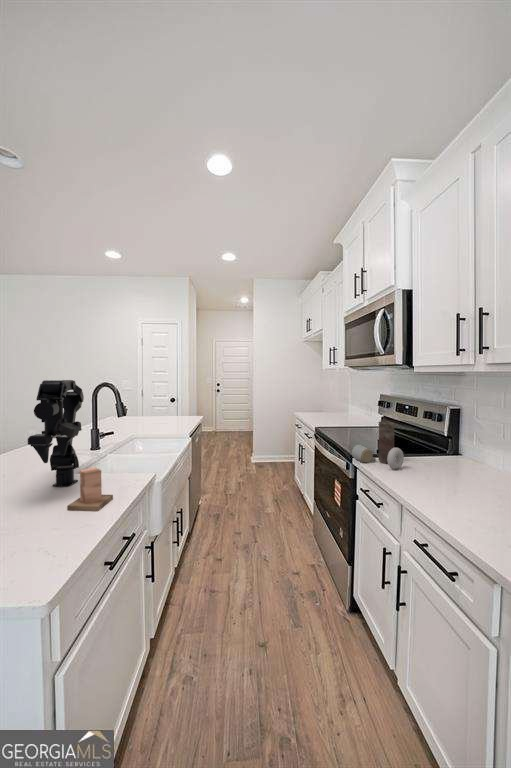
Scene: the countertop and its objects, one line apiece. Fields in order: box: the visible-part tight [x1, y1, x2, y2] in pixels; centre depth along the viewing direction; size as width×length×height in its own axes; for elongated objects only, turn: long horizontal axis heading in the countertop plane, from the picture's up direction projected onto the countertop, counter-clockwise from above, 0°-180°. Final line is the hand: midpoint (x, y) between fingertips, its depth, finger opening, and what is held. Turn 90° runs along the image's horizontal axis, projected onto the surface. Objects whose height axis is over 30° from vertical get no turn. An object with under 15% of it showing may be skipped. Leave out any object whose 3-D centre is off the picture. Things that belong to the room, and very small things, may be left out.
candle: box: [378, 421, 395, 464], centre depth 163 cm, size 8×7×20 cm
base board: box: [66, 494, 114, 512], centre depth 110 cm, size 10×10×2 cm
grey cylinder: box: [351, 444, 377, 464], centre depth 165 cm, size 11×8×8 cm
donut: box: [387, 446, 405, 470], centre depth 151 cm, size 10×4×10 cm, turn 124°
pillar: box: [79, 466, 103, 504], centre depth 109 cm, size 5×5×10 cm
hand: (54, 459), depth 117 cm, fingers open, 9 cm apart
